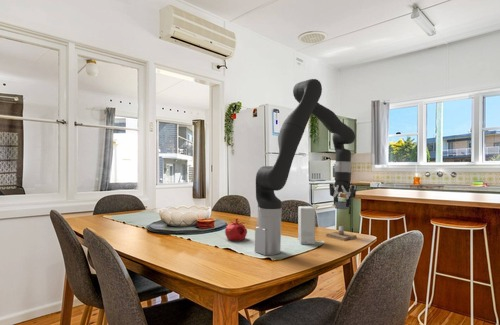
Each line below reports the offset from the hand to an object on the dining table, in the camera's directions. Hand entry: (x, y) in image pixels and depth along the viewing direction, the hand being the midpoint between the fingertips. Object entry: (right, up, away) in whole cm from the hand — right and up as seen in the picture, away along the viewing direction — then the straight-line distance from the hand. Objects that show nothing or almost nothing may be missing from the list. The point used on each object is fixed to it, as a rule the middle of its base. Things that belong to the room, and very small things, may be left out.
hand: (342, 205), depth 148 cm
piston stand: (0, -15, 0) cm, 15 cm away
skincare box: (-19, -15, -11) cm, 27 cm away
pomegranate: (-51, -14, -9) cm, 53 cm away
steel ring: (0, -1, 0) cm, 1 cm away
